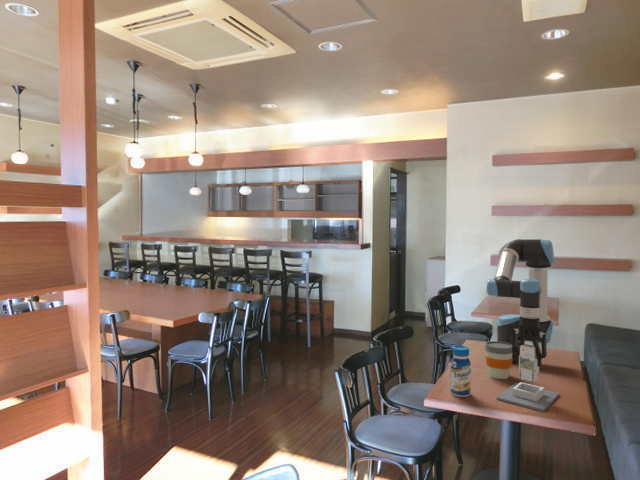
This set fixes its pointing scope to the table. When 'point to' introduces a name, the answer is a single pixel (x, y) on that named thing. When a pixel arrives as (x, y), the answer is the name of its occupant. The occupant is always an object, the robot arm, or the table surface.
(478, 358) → the table surface
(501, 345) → the reusable coffee cup
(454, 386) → the beverage bottle
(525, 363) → the syrup box
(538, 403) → the keeper board
